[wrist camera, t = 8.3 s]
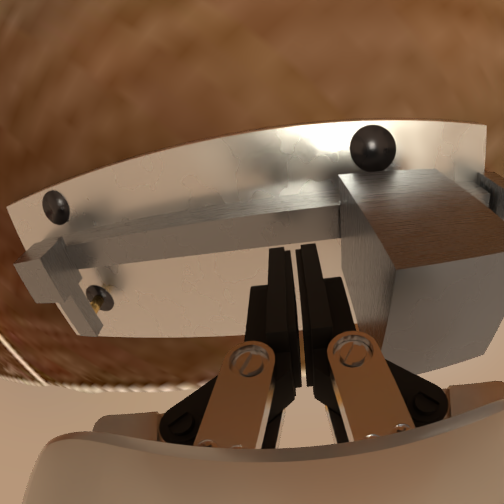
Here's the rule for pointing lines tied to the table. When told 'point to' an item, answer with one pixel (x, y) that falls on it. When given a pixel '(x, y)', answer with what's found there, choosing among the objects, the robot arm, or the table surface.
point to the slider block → (421, 266)
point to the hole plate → (221, 192)
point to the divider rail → (191, 240)
